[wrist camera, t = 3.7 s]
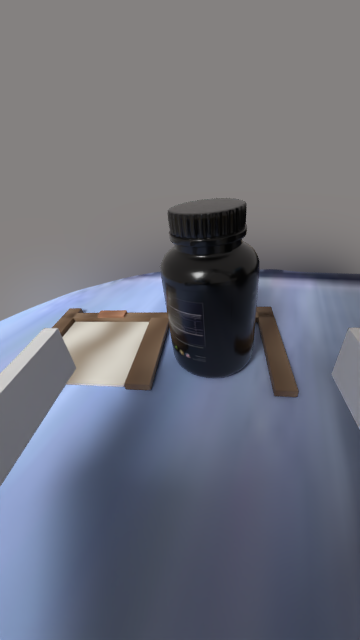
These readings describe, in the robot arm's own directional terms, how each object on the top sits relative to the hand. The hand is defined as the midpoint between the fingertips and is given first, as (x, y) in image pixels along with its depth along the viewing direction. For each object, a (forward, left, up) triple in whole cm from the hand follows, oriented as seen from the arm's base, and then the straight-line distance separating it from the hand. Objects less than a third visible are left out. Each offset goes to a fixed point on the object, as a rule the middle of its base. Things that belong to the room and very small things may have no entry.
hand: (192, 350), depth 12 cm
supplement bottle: (-1, -8, -7) cm, 10 cm away
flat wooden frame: (+5, -8, -7) cm, 11 cm away
